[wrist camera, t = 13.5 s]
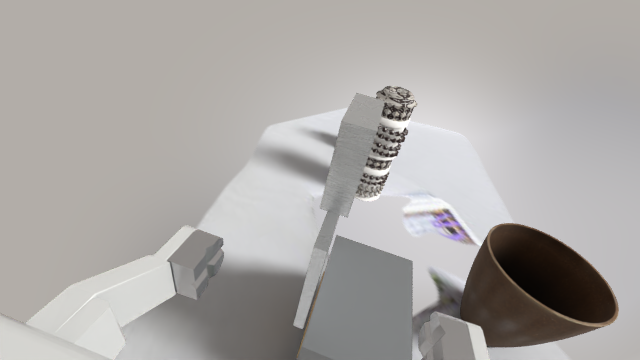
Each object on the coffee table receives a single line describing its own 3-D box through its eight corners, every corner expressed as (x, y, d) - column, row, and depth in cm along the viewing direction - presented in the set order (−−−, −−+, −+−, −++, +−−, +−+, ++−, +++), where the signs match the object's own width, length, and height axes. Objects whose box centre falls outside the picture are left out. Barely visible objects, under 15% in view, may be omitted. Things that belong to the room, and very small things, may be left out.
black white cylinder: (340, 177, 70) (369, 79, 54) (374, 178, 72) (410, 84, 57) (350, 202, 63) (385, 97, 47) (386, 202, 65) (431, 103, 50)
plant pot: (480, 390, 37) (566, 341, 27) (419, 289, 48) (465, 228, 38) (552, 360, 42) (646, 310, 32) (482, 275, 53) (537, 218, 43)
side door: (309, 332, 27) (369, 162, 14) (286, 323, 27) (325, 149, 15) (333, 253, 35) (384, 100, 22) (315, 247, 35) (356, 92, 23)
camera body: (365, 427, 32) (412, 390, 23) (284, 393, 33) (300, 346, 24) (379, 302, 44) (412, 249, 36) (320, 281, 45) (339, 224, 37)
